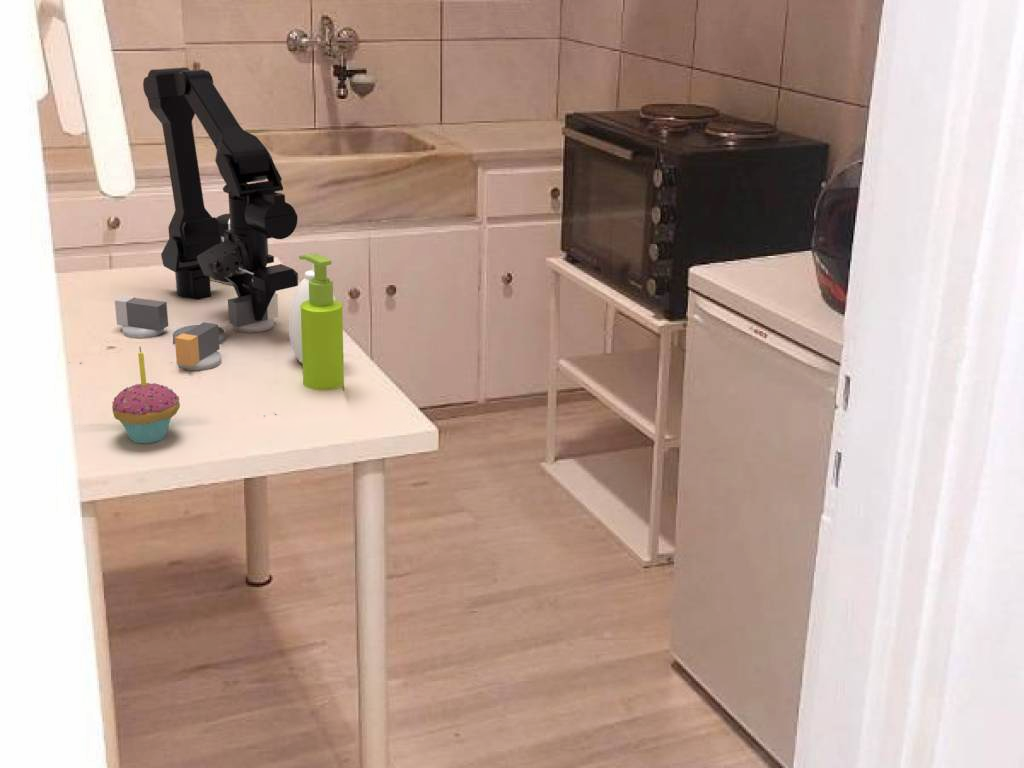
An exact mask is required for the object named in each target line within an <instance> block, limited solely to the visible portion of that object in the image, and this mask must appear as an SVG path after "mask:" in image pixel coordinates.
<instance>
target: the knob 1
mask: <svg viewBox="0 0 1024 768" xmlns="http://www.w3.org/2000/svg"><path fill="white" fill-rule="evenodd" d="M197 325H198V326H196V327H194V328H193V329H191V330H189V331H187V332H186V333H184V334H183V333H182V334H180V335H179V336H177V337H175V344H174V345H175V358H176V365H177V366H178V367H179V368H181V369H183V370H188V371H205V370H210V369H213V368H216V367H218V366H219V365H220V364H221V363H222V355H221V352H219V350H220V349H221V346H220V345H221V344H219V329H218V327H219V324H217V323H212V322H211V323H210V322H205V321H203V322H201V323H200V324H197Z"/></svg>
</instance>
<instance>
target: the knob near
mask: <svg viewBox="0 0 1024 768" xmlns="http://www.w3.org/2000/svg"><path fill="white" fill-rule="evenodd" d="M167 304H168V302H166V301H160V300H153V299H145V298H140V297H139V298H138V297H135V296H129V295H128V296H127V295H123V296H120V297H118V298H117V299H115V300H114V306H115V319H116V325H117V326H121V327H122V328H121V329H122V334H123V335H124V337H127V338H128V337H129V338H131V339H133V338H134V339H148V338H154V337H157V336H160V335H162V334H163V333H164V332H165V329H166V328H167V327H169V317H168V305H167Z"/></svg>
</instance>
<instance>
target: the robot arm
mask: <svg viewBox="0 0 1024 768" xmlns="http://www.w3.org/2000/svg"><path fill="white" fill-rule="evenodd" d="M142 83H143V84H142V87H143V92H144V95H145V97H146V98H147V99H146V100H147V102H148V106H149V109H150V111H151V112H152V113H153V115H154V116H155V117H156V118H157V120H158V121H159V122H160V123H161V126H162V132H163V138H164V144H165V151H166V157H167V165H168V170H169V178H170V183H171V189H172V190H171V191H172V197H173V203H174V214H172V215H173V216H172V218H171V220H170V222H169V225H168V227H167V228H168V240H167V242H166V244H165V246H164V248H163V250H162V252H161V254H160V257H161V260H162V261H161V262H162V264H163V267H165V268H166V269H168V270H170V271H172V272H173V273H175V274H174V275H175V287H176V295H177V296H178V297H180V298H185V299H192V300H203V299H208V298H211V297H212V290H211V289H212V287H211V280H210V277H211V278H212V279H214V280H220V279H222V278H226V279H227V280H228V281H230V282H231V283H232V284H233V285H232V286H233V289H234V291H235V293H236V295H237V297H242V296H246V295H250V294H251V299H252V305H253V312H254V317H255V320H256V321H260V320H262V319H263V317H264V314H265V312H266V310H267V308H268V306H269V303H270V301H271V299H272V297H273V295H274V294H275V293H277V291H281V290H285V289H289V288H290V289H291V288H295V287H299V272H297V271H296V270H295V269H294V268H292V267H289V266H287V265H286V264H285V265H284V264H282V263H280V264H275V265H270V266H268V264H272V263H275V256H274V255H273V254H269V240H268V239H271V238H273V239H276V240H284V239H287V238H289V236H291V235H293V233H294V231H295V230H296V229H297V226H298V225H297V224H298V218H299V217H298V214H297V211H296V209H295V208H294V207H293V206H292V204H290V203H288V202H287V201H286V195H285V194H284V193H282V191H284V186H283V184H282V181H283V178H282V176H281V174H280V172H279V171H278V169H277V167H276V164H275V162H274V160H273V157H272V155H271V153H270V152H269V150H268V149H267V147H266V146H265V144H263V142H262V141H261V140H260V139H259V138H258V137H257V135H254V134H252V133H250V132H248V131H246V130H244V129H243V128H242V126H241V125H240V124H239V121H237V119H236V117H235V116H234V114H233V113H232V111H231V109H230V107H228V104H227V103H226V101H225V100H224V99H223V97H222V95H221V93H220V92H219V90H218V89H217V88H216V86H215V84H214V79H213V75H212V74H211V72H210V71H209V70H205V69H190V68H189V67H172V68H168V67H167V68H157V69H154V68H153V69H150V70H149V72H148V74H147V76H145V77H144V78H143V82H142ZM195 116H196V117H197V119H198V120H199V122H200V125H202V127H203V128H204V130H205V133H207V135H208V137H209V138H210V140H211V141H212V143H213V144H214V145H213V146H214V147H215V150H216V153H215V154H216V155H215V159H214V160H215V164H216V166H217V167H218V168H217V169H218V172H219V174H220V176H221V177H222V179H223V181H224V183H225V185H224V186H223V187H222V191H223V192H224V193H226V194H228V207H229V208H228V209H229V210H228V211H229V213H228V214H230V230H225V233H224V242H222V239H221V236H220V233H219V223H218V220H217V219H216V218H217V217H213V216H212V215H211V214H210V212H209V211H208V210H207V208H206V207H205V201H204V195H203V194H204V193H203V188H202V182H201V175H200V169H199V162H198V161H199V160H198V155H197V148H196V142H195V141H196V140H195V134H194V128H193V127H194V126H193V120H194V117H195ZM266 179H267V180H266ZM265 180H266V181H265Z"/></svg>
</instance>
